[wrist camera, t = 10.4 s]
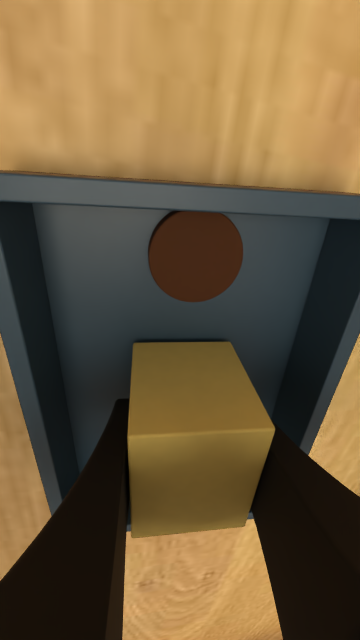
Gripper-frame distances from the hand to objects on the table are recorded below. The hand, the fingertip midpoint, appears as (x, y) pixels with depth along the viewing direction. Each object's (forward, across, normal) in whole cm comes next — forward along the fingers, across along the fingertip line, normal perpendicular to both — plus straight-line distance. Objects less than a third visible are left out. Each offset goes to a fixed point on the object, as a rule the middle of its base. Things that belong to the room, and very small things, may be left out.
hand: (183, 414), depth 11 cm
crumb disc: (+2, 0, -6) cm, 6 cm away
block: (+1, 0, 0) cm, 1 cm away
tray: (+2, 0, -1) cm, 2 cm away
